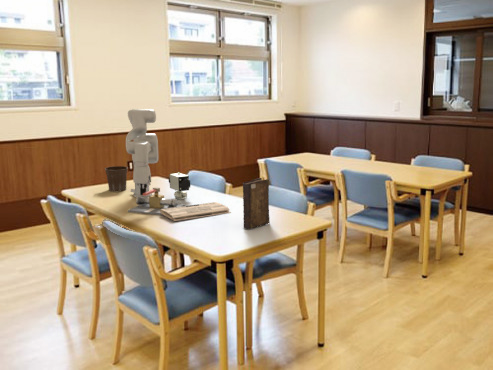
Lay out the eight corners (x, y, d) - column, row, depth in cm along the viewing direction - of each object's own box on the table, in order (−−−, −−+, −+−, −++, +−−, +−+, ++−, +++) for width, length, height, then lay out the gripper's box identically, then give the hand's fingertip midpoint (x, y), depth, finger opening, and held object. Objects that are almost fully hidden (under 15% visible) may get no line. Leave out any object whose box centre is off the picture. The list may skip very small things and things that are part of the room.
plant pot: (125, 192, 343) (124, 169, 340) (103, 192, 343) (101, 169, 340) (131, 187, 359) (130, 166, 356) (109, 187, 359) (108, 166, 356)
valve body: (136, 206, 297) (135, 191, 295) (141, 204, 302) (140, 189, 300) (173, 209, 289) (172, 194, 287) (178, 207, 294) (177, 192, 292)
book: (248, 230, 251) (248, 183, 246) (239, 227, 256) (238, 181, 251) (270, 224, 262) (271, 178, 257) (261, 221, 267) (261, 177, 262)
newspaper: (214, 205, 302) (214, 200, 302) (230, 212, 287) (231, 208, 286) (159, 212, 282) (159, 208, 281) (174, 221, 266) (174, 216, 266)
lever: (154, 190, 296) (154, 187, 296) (161, 190, 295) (161, 187, 294) (141, 196, 281) (140, 192, 281) (147, 196, 280) (147, 193, 279)
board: (126, 212, 288) (126, 210, 288) (148, 203, 311) (148, 200, 311) (166, 216, 280) (165, 213, 279) (185, 206, 303) (185, 203, 302)
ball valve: (192, 200, 319) (192, 173, 315) (181, 201, 314) (180, 174, 310) (179, 195, 333) (179, 169, 329) (168, 196, 328) (167, 171, 324)
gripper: (127, 164, 282) (129, 194, 286) (148, 165, 276) (149, 197, 279) (135, 162, 289) (137, 192, 293) (156, 164, 282) (157, 194, 286)
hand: (143, 194), depth 286 cm, fingers closed
